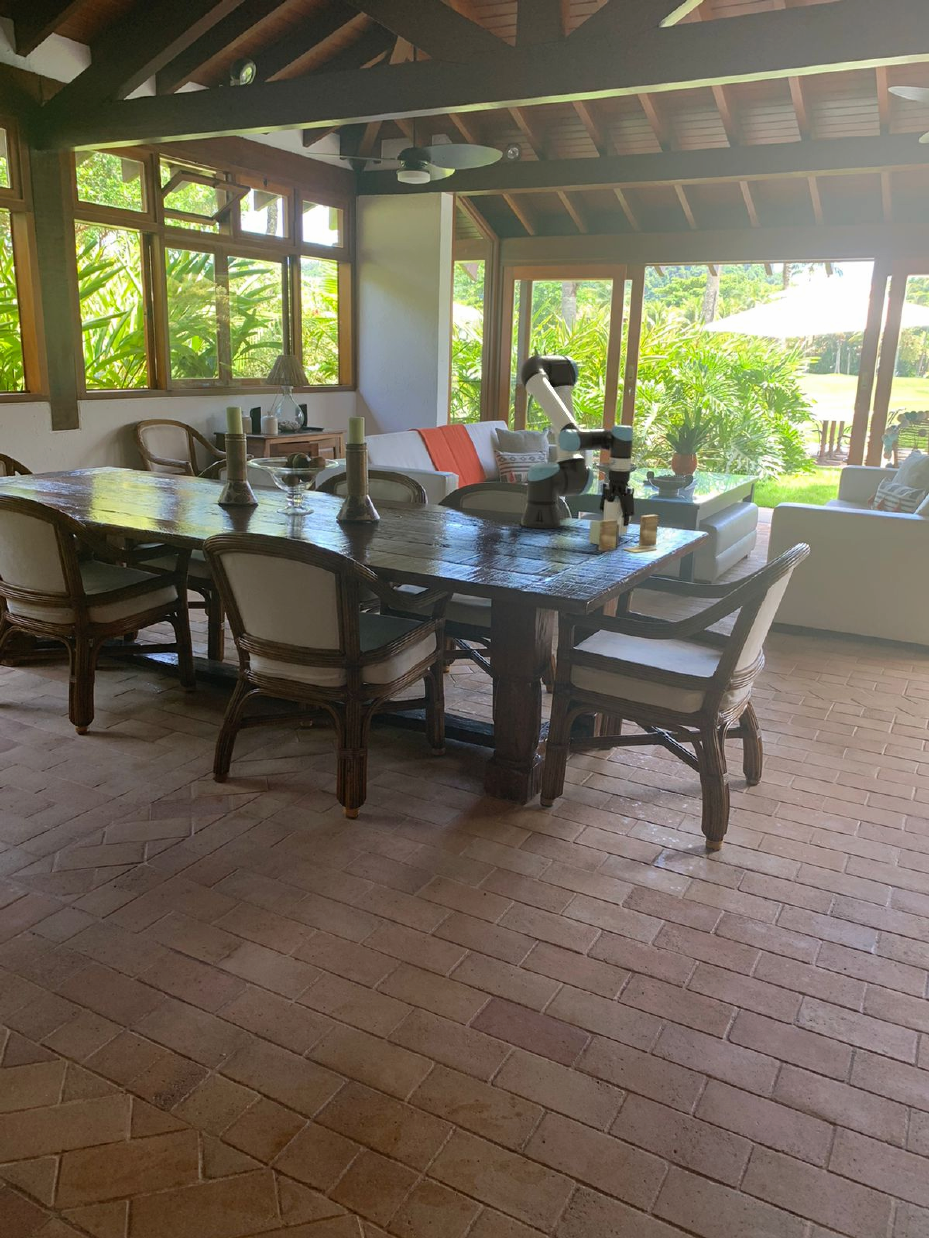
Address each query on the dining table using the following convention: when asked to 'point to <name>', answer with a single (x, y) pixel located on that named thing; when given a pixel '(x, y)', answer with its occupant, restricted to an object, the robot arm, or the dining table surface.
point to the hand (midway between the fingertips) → (614, 532)
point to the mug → (613, 511)
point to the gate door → (596, 532)
